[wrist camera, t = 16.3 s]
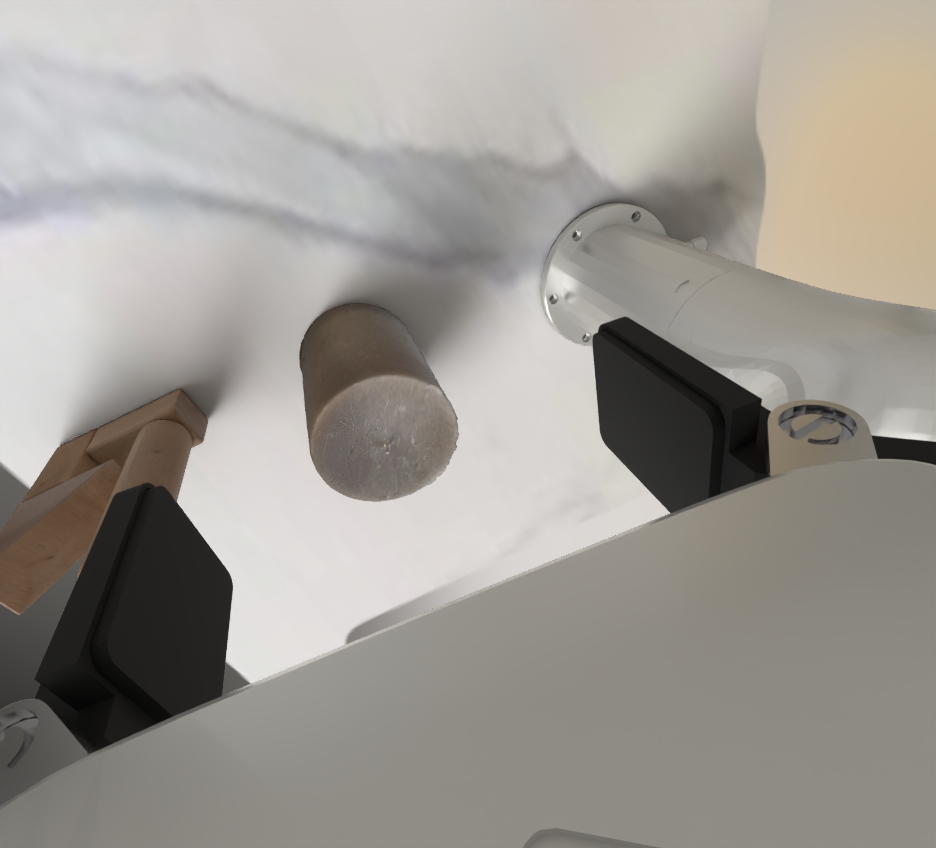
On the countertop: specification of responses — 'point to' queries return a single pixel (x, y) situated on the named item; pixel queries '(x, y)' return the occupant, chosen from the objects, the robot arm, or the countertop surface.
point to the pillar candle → (373, 405)
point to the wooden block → (92, 492)
